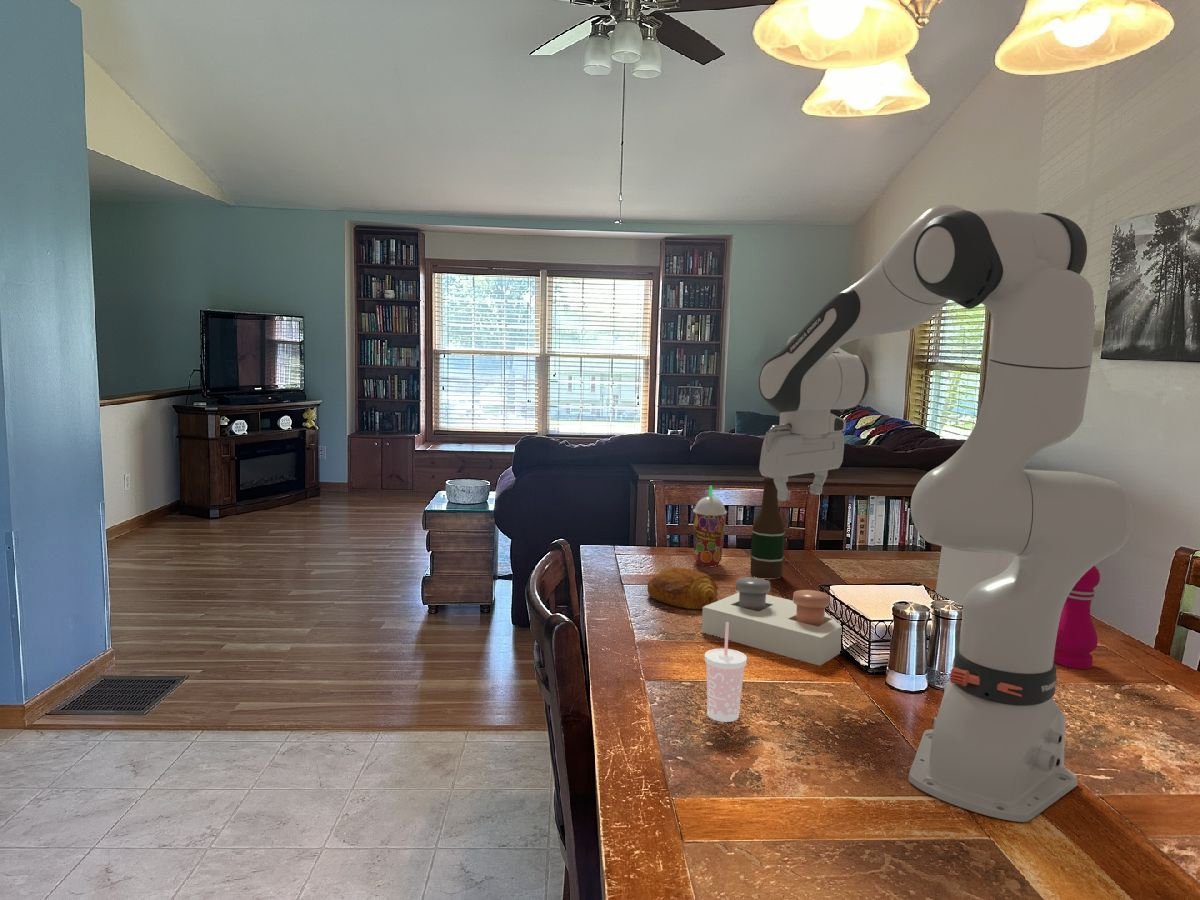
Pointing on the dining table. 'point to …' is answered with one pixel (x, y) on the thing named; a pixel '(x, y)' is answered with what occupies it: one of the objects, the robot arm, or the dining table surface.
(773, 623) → the button panel
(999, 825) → the dining table surface
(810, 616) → the terracotta button
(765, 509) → the beer bottle
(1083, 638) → the pepper mill
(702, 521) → the smoothie
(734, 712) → the beverage cup
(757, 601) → the graphite button
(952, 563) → the milk
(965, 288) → the robot arm
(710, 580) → the croissant
